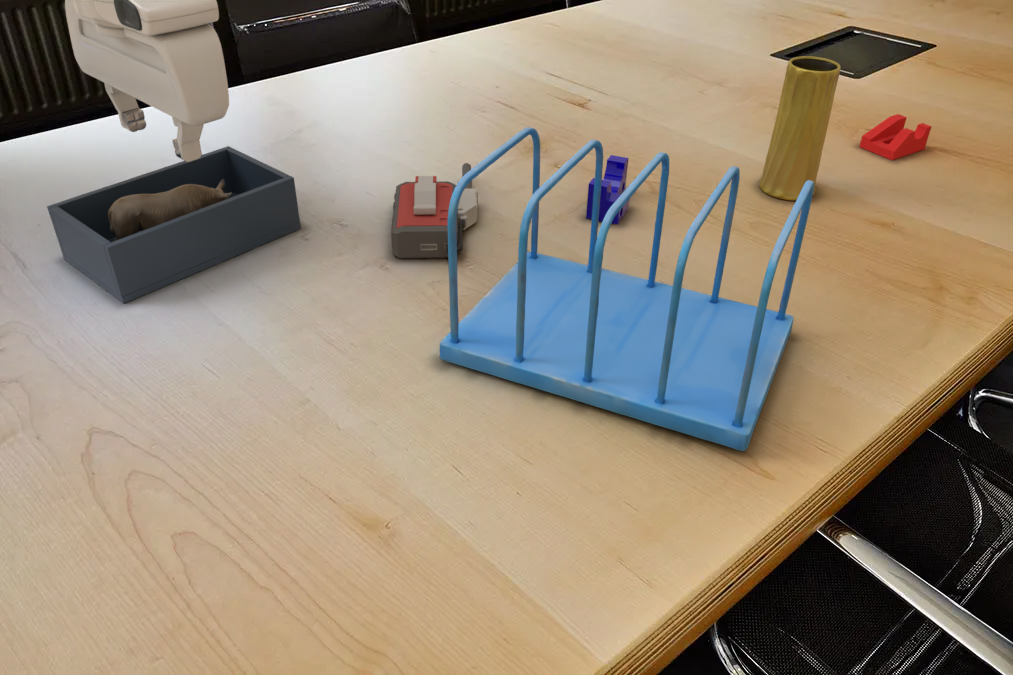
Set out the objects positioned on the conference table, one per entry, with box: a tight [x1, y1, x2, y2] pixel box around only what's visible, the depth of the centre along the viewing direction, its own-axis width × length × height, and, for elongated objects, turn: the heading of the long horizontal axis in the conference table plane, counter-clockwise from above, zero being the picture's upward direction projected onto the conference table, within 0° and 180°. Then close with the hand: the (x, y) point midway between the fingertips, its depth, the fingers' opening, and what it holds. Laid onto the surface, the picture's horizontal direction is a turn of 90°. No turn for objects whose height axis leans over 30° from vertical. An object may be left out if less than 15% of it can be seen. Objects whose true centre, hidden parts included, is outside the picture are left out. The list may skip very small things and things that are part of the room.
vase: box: [759, 55, 841, 202], centre depth 93 cm, size 6×6×14 cm
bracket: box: [858, 113, 932, 161], centre depth 106 cm, size 6×5×3 cm
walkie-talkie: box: [390, 162, 479, 259], centre depth 89 cm, size 9×4×20 cm
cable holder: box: [585, 154, 630, 226], centre depth 92 cm, size 8×4×4 cm, turn 158°
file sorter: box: [439, 126, 814, 452], centre depth 67 cm, size 25×17×15 cm
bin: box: [46, 145, 302, 304], centre depth 83 cm, size 11×19×6 cm, turn 138°
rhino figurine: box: [108, 179, 232, 242], centre depth 82 cm, size 4×14×6 cm, turn 119°
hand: (161, 143), depth 79 cm, fingers open, 8 cm apart
